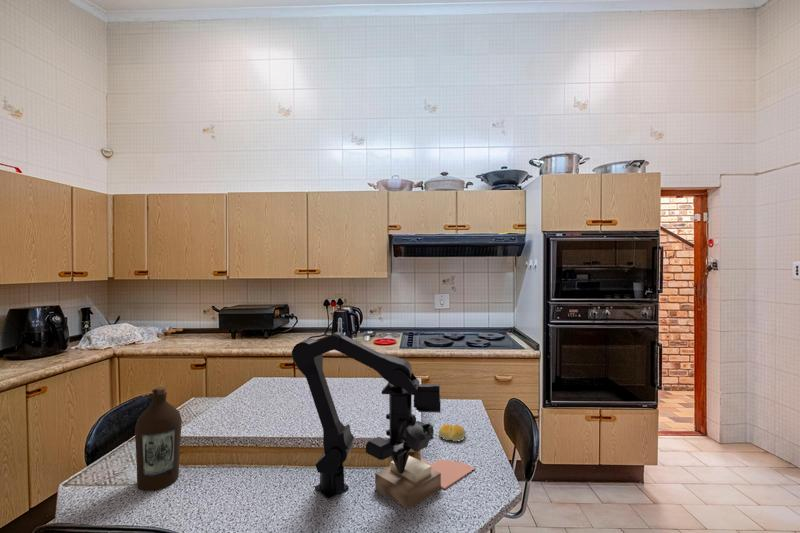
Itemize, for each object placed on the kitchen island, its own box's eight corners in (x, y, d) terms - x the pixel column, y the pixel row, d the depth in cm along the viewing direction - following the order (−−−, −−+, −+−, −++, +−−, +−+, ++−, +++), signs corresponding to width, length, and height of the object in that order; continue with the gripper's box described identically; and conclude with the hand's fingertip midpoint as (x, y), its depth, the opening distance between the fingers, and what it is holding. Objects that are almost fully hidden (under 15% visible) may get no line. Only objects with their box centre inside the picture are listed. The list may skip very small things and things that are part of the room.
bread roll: (441, 430, 133) (441, 419, 133) (466, 434, 130) (466, 422, 130) (435, 440, 125) (435, 428, 125) (462, 444, 122) (462, 432, 122)
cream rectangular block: (390, 469, 98) (390, 461, 99) (406, 461, 103) (406, 454, 103) (415, 482, 92) (415, 474, 92) (431, 473, 96) (431, 466, 96)
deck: (375, 488, 97) (375, 473, 97) (407, 471, 105) (407, 457, 105) (408, 509, 88) (408, 492, 88) (440, 488, 97) (440, 472, 97)
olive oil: (135, 478, 102) (136, 386, 102) (180, 467, 108) (180, 380, 108) (133, 498, 93) (134, 397, 94) (182, 484, 99) (183, 389, 99)
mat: (405, 469, 106) (405, 468, 106) (437, 452, 116) (437, 451, 116) (444, 489, 96) (444, 488, 96) (475, 469, 106) (475, 468, 106)
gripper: (395, 430, 83) (396, 502, 82) (448, 409, 96) (449, 471, 95) (364, 417, 91) (364, 482, 90) (416, 399, 104) (417, 456, 103)
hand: (401, 472), depth 95 cm, fingers closed
